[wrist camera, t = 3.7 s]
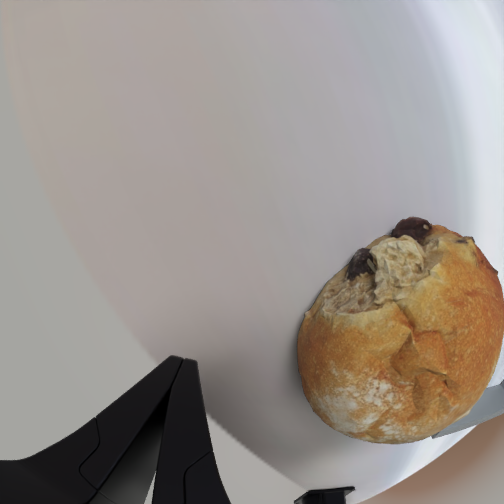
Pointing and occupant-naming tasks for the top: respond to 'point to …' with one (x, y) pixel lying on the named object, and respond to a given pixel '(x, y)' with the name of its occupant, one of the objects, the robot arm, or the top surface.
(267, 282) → the top surface
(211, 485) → the robot arm
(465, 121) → the top surface
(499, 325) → the bread roll
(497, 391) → the grey u-shaped frame
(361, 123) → the top surface
